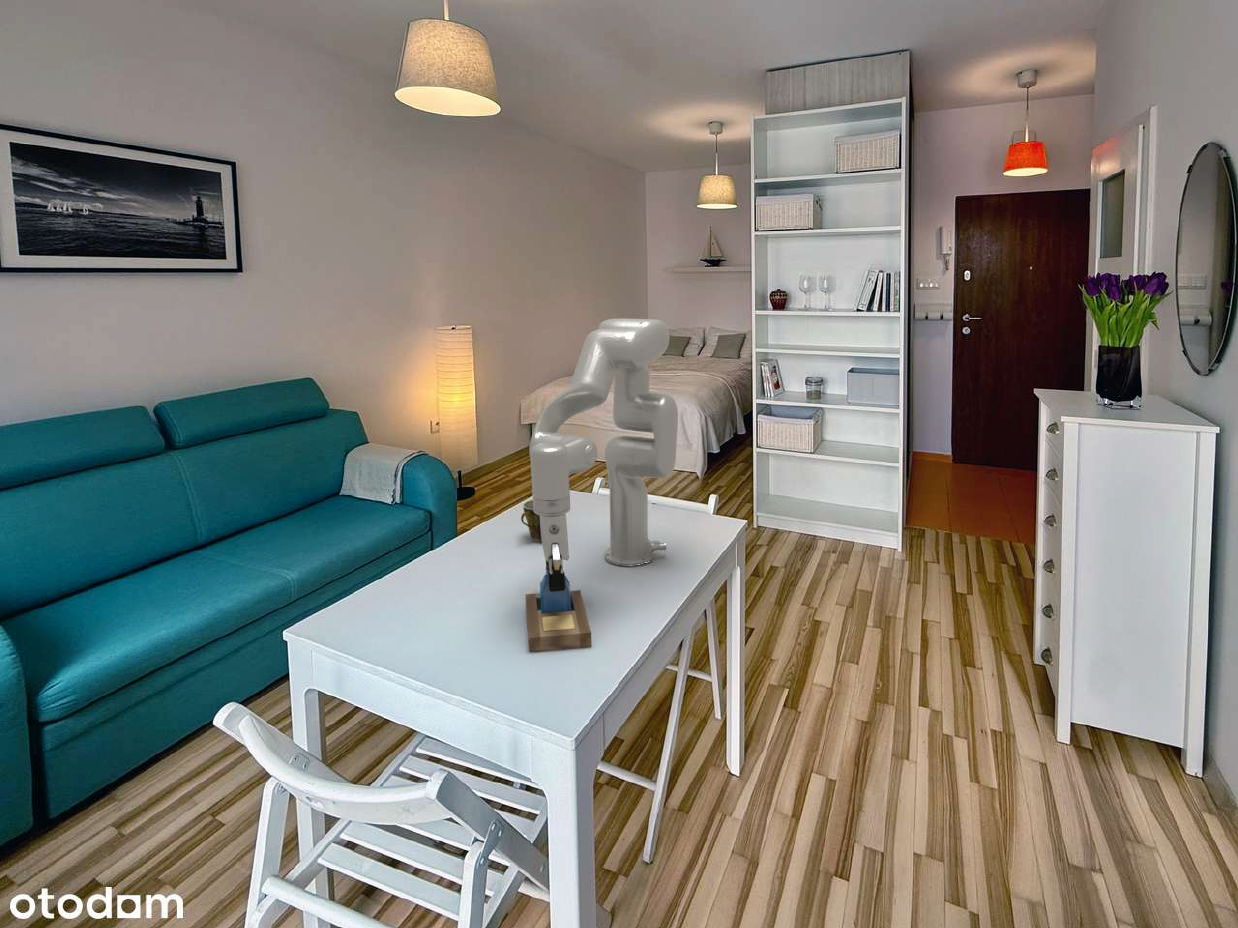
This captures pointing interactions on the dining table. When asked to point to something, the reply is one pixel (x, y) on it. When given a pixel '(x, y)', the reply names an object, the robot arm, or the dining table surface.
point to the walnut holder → (557, 625)
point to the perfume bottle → (554, 596)
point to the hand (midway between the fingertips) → (555, 580)
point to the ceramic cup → (532, 521)
